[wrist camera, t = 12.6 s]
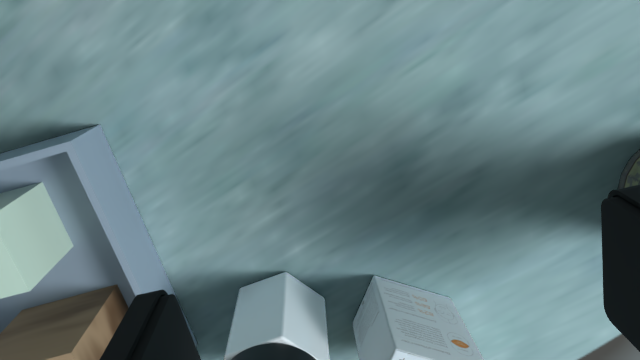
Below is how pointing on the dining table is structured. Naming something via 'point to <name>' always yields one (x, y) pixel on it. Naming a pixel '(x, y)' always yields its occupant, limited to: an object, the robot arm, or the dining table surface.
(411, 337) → the small box
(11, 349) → the walnut block
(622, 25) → the dining table surface
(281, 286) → the jar
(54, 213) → the pale green block
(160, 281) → the box
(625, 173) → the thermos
